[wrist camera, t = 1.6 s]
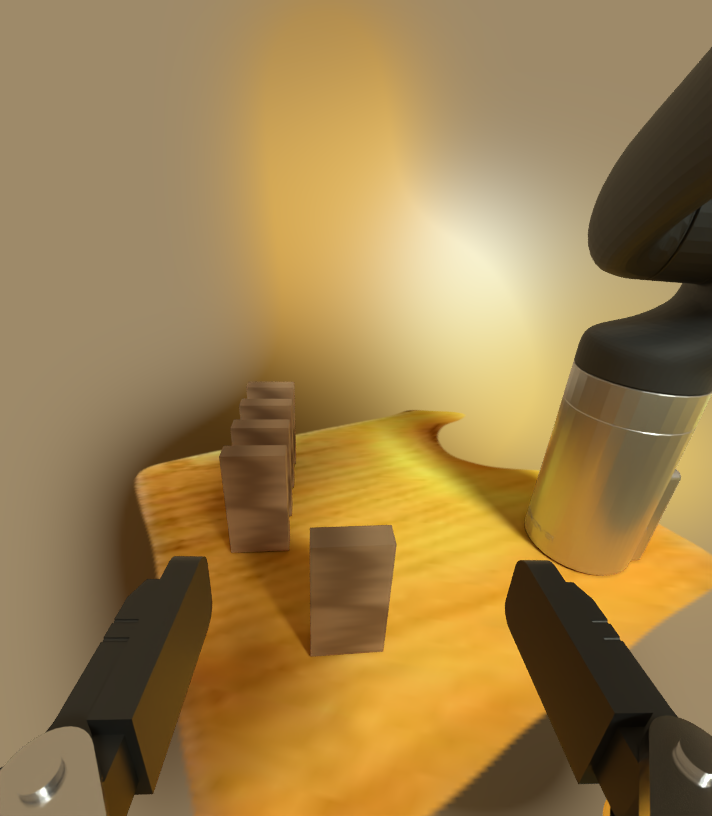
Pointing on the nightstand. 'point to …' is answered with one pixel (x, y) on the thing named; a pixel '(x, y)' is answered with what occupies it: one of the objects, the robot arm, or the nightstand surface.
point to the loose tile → (350, 588)
